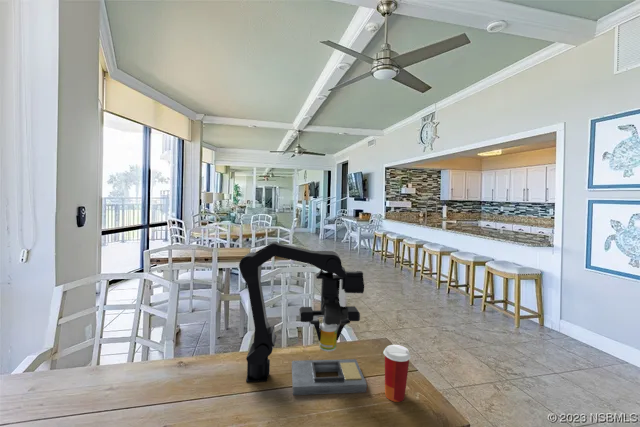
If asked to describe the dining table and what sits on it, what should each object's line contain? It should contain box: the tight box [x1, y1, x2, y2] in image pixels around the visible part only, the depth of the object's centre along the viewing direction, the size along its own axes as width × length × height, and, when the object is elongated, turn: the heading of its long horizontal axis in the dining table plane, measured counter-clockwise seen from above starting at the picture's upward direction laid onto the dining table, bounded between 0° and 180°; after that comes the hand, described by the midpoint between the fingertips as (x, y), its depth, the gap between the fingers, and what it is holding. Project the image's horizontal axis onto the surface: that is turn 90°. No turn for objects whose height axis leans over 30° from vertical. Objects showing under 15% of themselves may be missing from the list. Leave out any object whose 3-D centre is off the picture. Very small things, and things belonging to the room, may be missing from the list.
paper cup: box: [383, 344, 412, 403], centre depth 91 cm, size 8×8×14 cm
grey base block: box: [291, 358, 368, 396], centre depth 98 cm, size 22×14×3 cm, turn 97°
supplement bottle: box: [318, 317, 338, 352], centre depth 98 cm, size 5×5×10 cm
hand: (328, 340), depth 98 cm, fingers closed on supplement bottle, 5 cm apart
